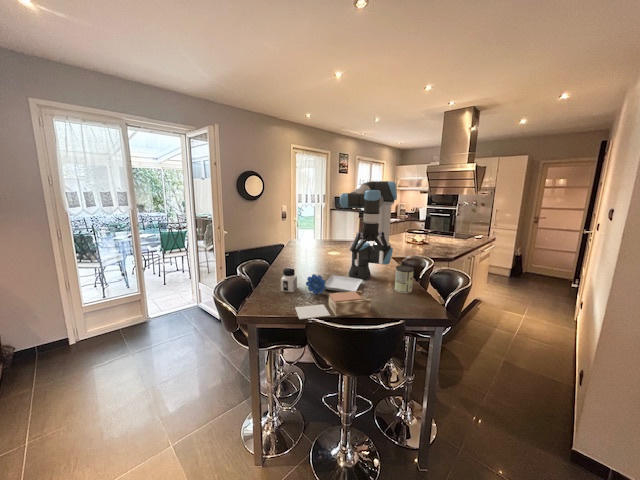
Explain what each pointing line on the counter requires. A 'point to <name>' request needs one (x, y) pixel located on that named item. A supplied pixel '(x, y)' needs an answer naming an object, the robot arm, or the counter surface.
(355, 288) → the salad plate
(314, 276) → the grapes
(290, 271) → the container
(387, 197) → the robot arm
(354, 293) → the block
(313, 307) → the mat
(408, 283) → the coffee can
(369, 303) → the box
